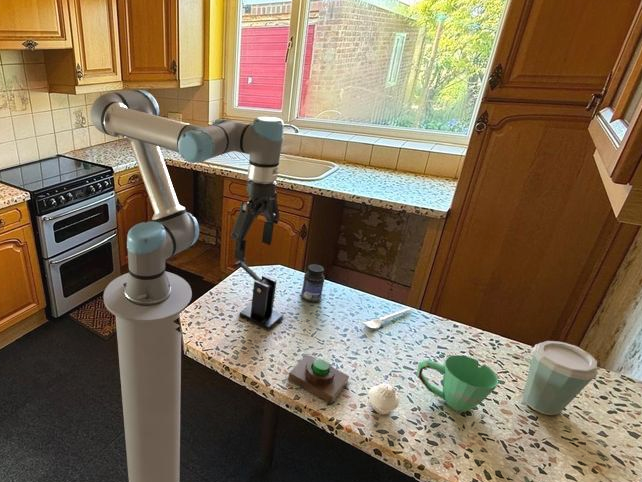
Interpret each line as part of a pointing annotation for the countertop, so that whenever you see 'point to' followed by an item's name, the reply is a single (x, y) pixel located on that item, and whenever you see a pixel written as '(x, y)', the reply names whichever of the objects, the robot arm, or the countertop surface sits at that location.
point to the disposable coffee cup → (557, 376)
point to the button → (320, 367)
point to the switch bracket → (262, 305)
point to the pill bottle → (313, 283)
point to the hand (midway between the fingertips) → (253, 251)
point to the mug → (461, 381)
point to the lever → (251, 272)
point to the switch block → (318, 379)
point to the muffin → (383, 398)
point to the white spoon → (383, 319)
